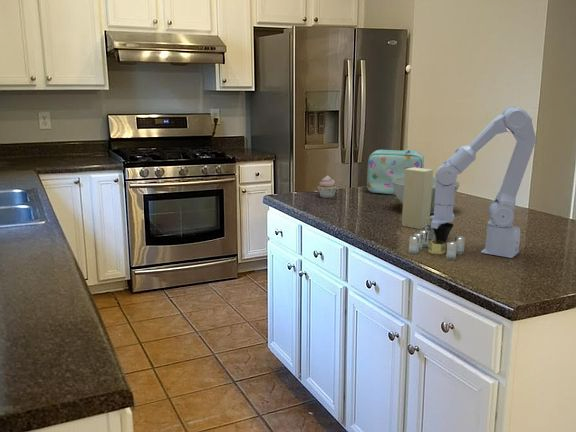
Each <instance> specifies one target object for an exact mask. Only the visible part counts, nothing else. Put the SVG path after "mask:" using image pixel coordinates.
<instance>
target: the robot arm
mask: <svg viewBox="0 0 576 432" xmlns="http://www.w3.org/2000/svg"><path fill="white" fill-rule="evenodd" d="M532 119H533V118H532V117H531V116H530V114H529V113H528V112H527V111H526V110H525V109H523V108H521V107H520V108H519V107H516V106H510V107H507V108H505V109H504V110H503V112H502V113H499V114H498V115H497V116H495V117H494V119H492V120H491V121H490V122H489V124H487V125H486V126H485V128H483V130H481V132H479V134H477V136H476V137H475V138H474V139H473V140H472V141H471V142H470V143H469V144H468V145H461V146H460V147H456V148H455V149H454V153H453V154H452V155H451V156H450V157H449V158H448V159H447V160H446V159H445V160H443V164H441V165H440V166H438V168H436V172H435V174H434V175H435V177H436V178H437V182H436V189H435V204H434V213H433V215H430V219H431V220H432V221H430V225H431V228H433V230H434V232H435V236H436V240H441V241H444V242H446V243H447V242H448V240H447V238H448V239H449V235H450V232H451V231H452V229H453V227H454V223H452V222H453V221H454V220H455V213H454V205H455V204H454V202H455V196H454V191H455V190H454V182H455V181H457V179H458V175H461V174H462V173H463V172H464V171H465V170H466V169H467V168H468V167H469V166H470V165H471V164H472V163H473V162H474V161H476V158H477V157H476V155H477V152H479V151H480V150H481V149H483V147H485V146H486V145H487V144H488V143H489V142H490V141H491V140H492V139H493V138H495V136H497V135H499V134H504V133H508V130H509V131H510V132H511V134H512V136H513V137H514V139H515V141H516V143H515V146H514V149H513V152H512V154H511V157H510V159H509V163H508V166H507V168H506V172H505V174H504V178H503V181H502V183H501V186H500V189H499V191H498V193H496V196H495V198H494V200H493V201H492V202H491V203H490V205H488V210H487V212H488V215H489V216H490V219H489V220H488V221H487V225H486V238H485V239H486V240H485V247H484V248H483V249H482V250H481V251H480V254H486V255H493V256H498V257H504V258H508V259H509V258H510V259H513V258H514V257H515V256H517V255H518V254H519V253H520V241H521V228H520V227H519V226H514V225H513V221H514V220H515V207H516V201H517V200H516V199H517V198H516V197H517V194H518V192H519V189H520V187H521V183H522V180H523V178H524V175H525V172H526V169H527V167H528V164H529V161H530V158H531V155H532V153H533V151H534V148H535V144H536V142H537V136H536V133H535V128H534V126H533V125H534V124H533V120H532Z"/></svg>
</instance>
